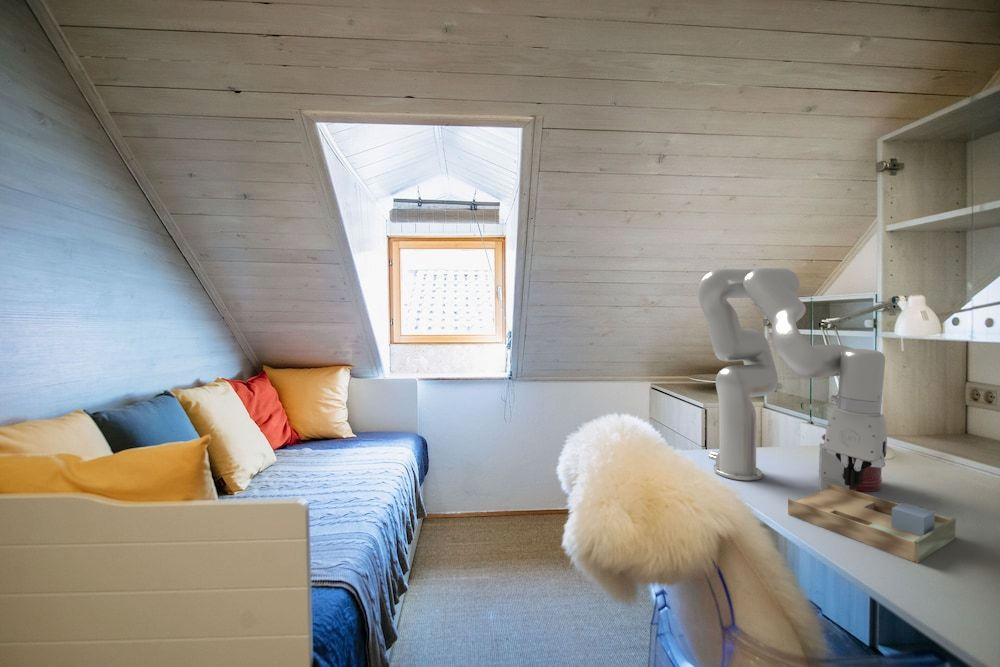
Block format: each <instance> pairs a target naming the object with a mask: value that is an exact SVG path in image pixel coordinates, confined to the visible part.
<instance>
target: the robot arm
mask: <svg viewBox="0 0 1000 667" xmlns="http://www.w3.org/2000/svg"><path fill="white" fill-rule="evenodd" d="M698 285H699V286H698V290H697V297H698V302H699V305H700V308H701V310H702V312H703V315H704V317H705V318H704V319H705V321H706V324H707V326H706V327H707V330H708V333H709V338H710V342H711V346H712V350H713V353H714V355H715V357H716V358H717V359H718V360H720V361H723V362H743V364H738V365H729V366H725V367H724V368H722V369H721V370H719V372H718V373H717V374H716V377H715V388H716V392H717V398H718V406H719V407H718V408H719V409H718V410H719V411H718V412H719V414H718V415H719V419H718V420H719V429H718V430H719V432H718V433H719V441H718V443H719V448H718V449H719V452H718V451H714V450H711V451H710V454H708V459H709V460H713V461H715V464H714V465H713V471H714V472H715V473H716V474H717V475H719V476H721V477H724V478H727V479H731V480H739V481H749V482H750V481H756V480H760V479H762V478H763V475H764V474H763V471H762V470H761V469H760V468H759V467H757V410H756V408H755V406H754V404H753V402H752V400H751V399H752V398H758V397H766V396H769V395H771V394H773V393H775V391H776V390H777V388H778V384H779V377H778V371H777V368H776V365H775V361H774V358H773V353H772V350H771V346H770V343H769V341H768V339H767V338H766V336H765V335H764V334H763V332H761V331H759V330H758V329H754V328H742V327H741V324H740V321H739V317H738V313H737V311H736V310H735V308H734V307H733V305H731V303H730V302H729V301H728V299H732V298H733V299H734V298H735V299H737V298H739V299H743V298H745V299H746V298H748V299H751V301H753V303H754V304H755V306H756V307H757V308H758V309H759V310H760V312H761V313H762V315H764V316H765V318H766V319H767V320H768V322H769V323H770V325H771V339H772V344H773V346H774V350H775V351H776V353H777V354H778V355H779V357H780V358H781V360H782V361H783V362H784V363H785V364H786V366H787V367H789V369H790V370H791V371H792V372H794V373H795V374H796V375H798V376H800V377H803V378H806V379H816V378H827V377H828V378H830V377H838V388H837V389H838V390H837V394H836V395H833V394H832V395H831V397H830V401H831V402H835V403H836V404H835V406H833V407H832V408H831V411H830V414H829V415H828V416H829V417H828V422H827V425H826V428H827V429H826V428H825V434H826V435H825V447H826V448H827V449H826V451H827V452H828V453H830V454H832V455H834V456H836V457H837V458H838V459H839V461H840V462H841V464H842V466H843V467H844V474H843V479H844V480H845V485H847V486H850V487H853V488H854V487H856V486H859V485H860V484H861V483H862V479H863V469H865V468H868V467H879V468H882V469H883V468H884V467H885V466H886V460H885V458H886V456H887V453H888V452H887V450H888V434H887V433H888V431H887V424H886V417H885V415H884V414H883V413H882V403H883V393H884V392H883V391H884V390H883V389H884V381H885V380H884V379H885V371H886V370H885V369H886V356H885V354H884V353H883V352H882V351H879V350H875V349H867V348H865V349H864V348H853V347H849V346H846V345H843V344H842V345H841V344H836V343H834V344H832V343H831V344H813V345H812V344H810V343H809V341H808V340H807V339H806V338H805V337H804V336H803V334H802V333H801V332H800V331H799V329H798V327H797V322H798V321H799V320H800V319H802V318H803V316H804V315H805V314H806V311H807V308H806V305H805V304H804V303H803V301H802V300H801V299H800V298H799V297H798V295H796V294H797V293H798V292H799V289H800V286H801V284H800V279H799V277H798V275H797V274H796V273H795V272H794V271H793V270H790V269H789V268H784V267H783V268H782V267H781V268H780V267H779V268H778V267H776V268H775V267H774V268H773V267H772V268H771V267H770V268H769V267H763V268H762V267H761V268H756V269H752V268H751V269H749V268H748V269H747V268H746V269H745V268H743V269H742V268H739V269H738V268H721V269H714V270H712V271H709V272H708V273H706V274H705V275H704V276H703V277H702V279H701V281H700V282H699V284H698ZM853 458H856V462H855V465H854V460H853Z"/></svg>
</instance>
